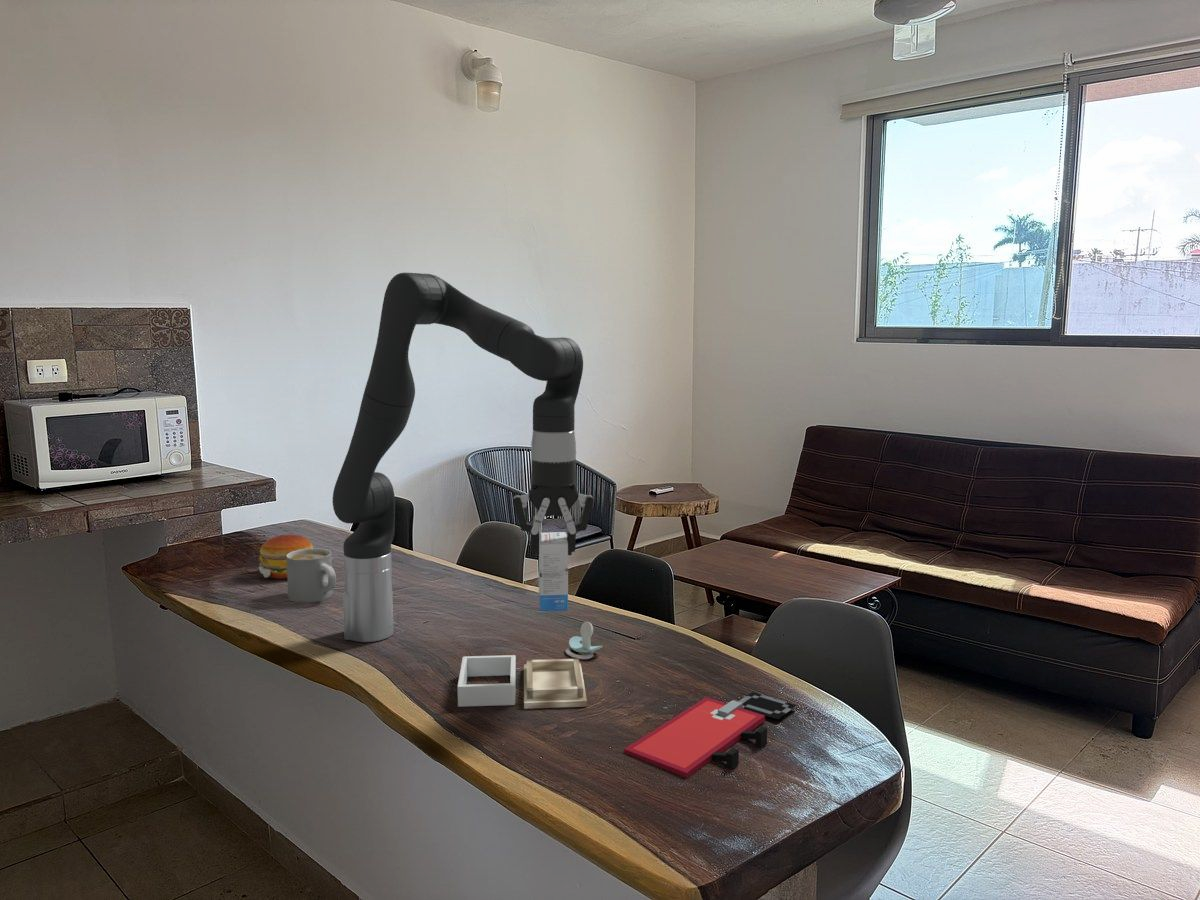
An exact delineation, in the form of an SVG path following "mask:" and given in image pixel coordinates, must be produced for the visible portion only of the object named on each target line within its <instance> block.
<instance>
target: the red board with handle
mask: <svg viewBox="0 0 1200 900" xmlns="http://www.w3.org/2000/svg"><path fill="white" fill-rule="evenodd" d="M795 707H797V704H794V703H791V702H788V701H785V700H782V699H778V698H775V697H771V696H767V695H764V694H761V693H757V692H754V691H752V692H750V693H749V694H748V695H746V696H745V697H742V699H740V700H734V699H733V700H732V699H731V701H729V702H728V703H727V702H722V701H720V700H716V699H712V698H710V697H707V696H705V697H704V698H702V699H701V700H699V701H698V702H696V703H695V704H693V705H691V706H690V707H688V708H686V709H685V710H683V711H682V712H680V713H679V714H677V715H676V716H673V718H671V719H669V720H668V721H666V722H665V723H663V724H661V725H660V726H658V727H657V728H655V729H653V730H652V731H650V732H649V733H647V734H646V735H643V736H642V737H641V738H639V739H637V740H636V741H634V742H633V743H631V744H630V745H628V746H626V747H624V749H623V753H625V754H628V755H629V756H632V757H634V758H637V759H639V760H641V761H644V762H647V763H648V764H651V765H654V766H656V767H659V768H662V769H664V770H666V771H668V772H671V773H673V774H676V775H678V776H681V777H682V778H686V779H687V778H689V777H691V776H692V775H693V774H694V773H696V772H698V771H699V770H700V769H702V768H703V767H705V766H706V765H707V764H708V763H710V762H711V761H713V762H725V763H726V764H725V766H726V769H728V770H731V771H733V770H734V769H736V768H737V767H738V766H739V764H740V762H739V761H740V760H739V759H740V755H739V754H740V753H739V751H740V749H738V748H735V747H732V746H734V745H735V744H736V743H738V742H739V741H740V740H753V741H754V740H755V747H756V748H760V749H762V748H763V747H764V746H765V745H767V744H768V728H767V727H765V726H761V725H762V724H763V723H764V722H766V717H770V718H773V719H775V720H780V719H781V718H782V717H784V716H785V715H786V714H787V713H788V712H790V711H791V710H793V709H794V708H795ZM759 726H760V727H759ZM757 727H759V728H757ZM756 728H757V729H756ZM755 729H756V730H755ZM730 747H731V749H729V748H730ZM728 749H729V750H728ZM726 750H728V751H726ZM725 751H726V752H725Z"/></svg>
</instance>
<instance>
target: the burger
mask: <svg viewBox="0 0 1200 900" xmlns="http://www.w3.org/2000/svg"><path fill="white" fill-rule="evenodd" d="M310 548H314V546H313V543H312V542H311V541H310V540H309V539H308V538H307V537H305V536H302V535H299V534H293V533H292V534H290V533H289V534H280V535H276V536H273V537H271V538H269V539H267V540H266V541H265V542H264V543H263V544H262V545H261V547H260V549H259V552H260V553H258V555H259V556H258V558H259V559H258V560H259V564H258V565H259V566H258V570H259V573H260V575H262V576H263V578H271V579H287V563H286V555H287V554H288V553H290V552H293V551H296V550H301V549H310Z"/></svg>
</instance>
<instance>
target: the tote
mask: <svg viewBox="0 0 1200 900" xmlns="http://www.w3.org/2000/svg"><path fill="white" fill-rule="evenodd" d="M516 658H517V657H516V655H515V654H510V655H509V654H507V655H506V654H505V655H473V656H471V655H470V656H469V655H468V656H462V658H461V659H462V660H461V666H460V671H459V676H458V682H457V708H459V707H487V706H489V707H490V706H514V705H516V683H517V682H516V680H517V678H516V676H517V675H516V673H517V671H516V669H517V666H516V662H517V661H516V660H517V659H516ZM492 676H494V677H495V676H496V677H497V676H498V677H500V676H501V677H502V676H510V677H509V678H510V679H509V680H510V681H509V682H510V683H509V682H506V683H504V682H503V683H479V684H478V683H476V684H475V683H474V684H473V683H472V684H470V683H469V684H467V681H468V677H492Z"/></svg>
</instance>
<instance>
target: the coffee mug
mask: <svg viewBox="0 0 1200 900" xmlns="http://www.w3.org/2000/svg"><path fill="white" fill-rule="evenodd" d="M286 563H287V578H286V579H287V581H286V582H287V598H288V600H290V601H292V602H294V603H315V602H316V603H317V602H321V601H325V600H328V599H329V598H330V599H331V598H332V597H333V595H334V589H335V587H336V583H337V577H336V576H337V575H336V572H335V569H334V567H333V555H332V551H331V550H330V549H326V548H318V547H317V548H315V547H313V548H310V549H301V550H296V551H293V552H290V553H288V554H287V555H286Z"/></svg>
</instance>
